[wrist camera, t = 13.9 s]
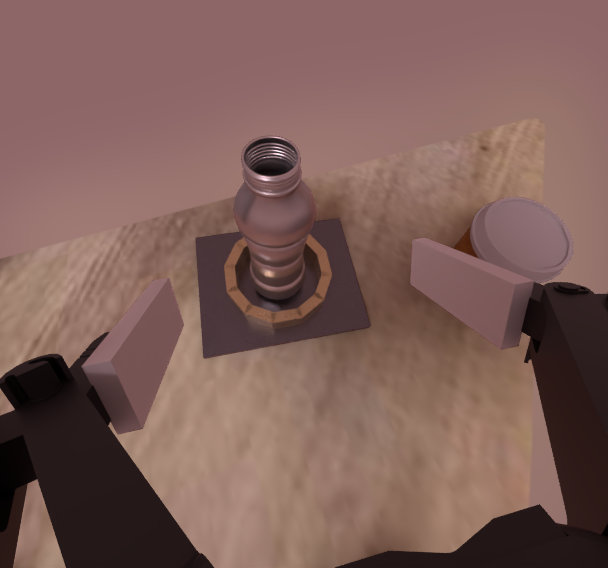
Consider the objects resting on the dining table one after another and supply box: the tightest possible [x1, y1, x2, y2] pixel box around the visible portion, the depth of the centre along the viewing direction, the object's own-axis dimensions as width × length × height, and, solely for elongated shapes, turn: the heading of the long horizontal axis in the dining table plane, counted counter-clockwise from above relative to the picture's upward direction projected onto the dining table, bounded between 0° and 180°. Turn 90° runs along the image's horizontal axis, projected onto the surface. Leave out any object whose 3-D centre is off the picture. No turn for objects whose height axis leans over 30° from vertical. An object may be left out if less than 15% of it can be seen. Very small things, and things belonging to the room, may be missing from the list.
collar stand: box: [196, 218, 370, 359], centre depth 35 cm, size 20×16×4 cm
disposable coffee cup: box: [453, 197, 573, 283], centre depth 33 cm, size 10×10×12 cm
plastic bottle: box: [233, 136, 316, 300], centre depth 27 cm, size 6×7×20 cm
